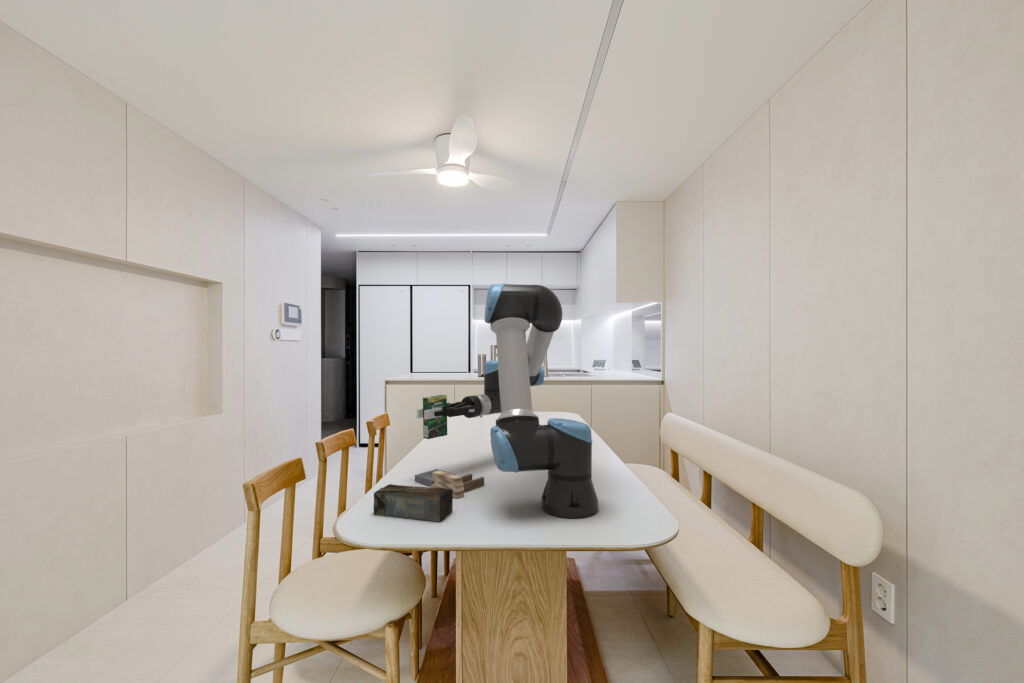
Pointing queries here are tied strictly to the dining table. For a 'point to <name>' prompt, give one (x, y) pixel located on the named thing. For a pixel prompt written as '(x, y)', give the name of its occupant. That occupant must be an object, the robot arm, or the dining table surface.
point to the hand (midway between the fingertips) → (421, 414)
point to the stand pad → (427, 477)
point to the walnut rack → (472, 482)
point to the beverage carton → (413, 502)
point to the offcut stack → (448, 482)
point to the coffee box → (434, 425)
